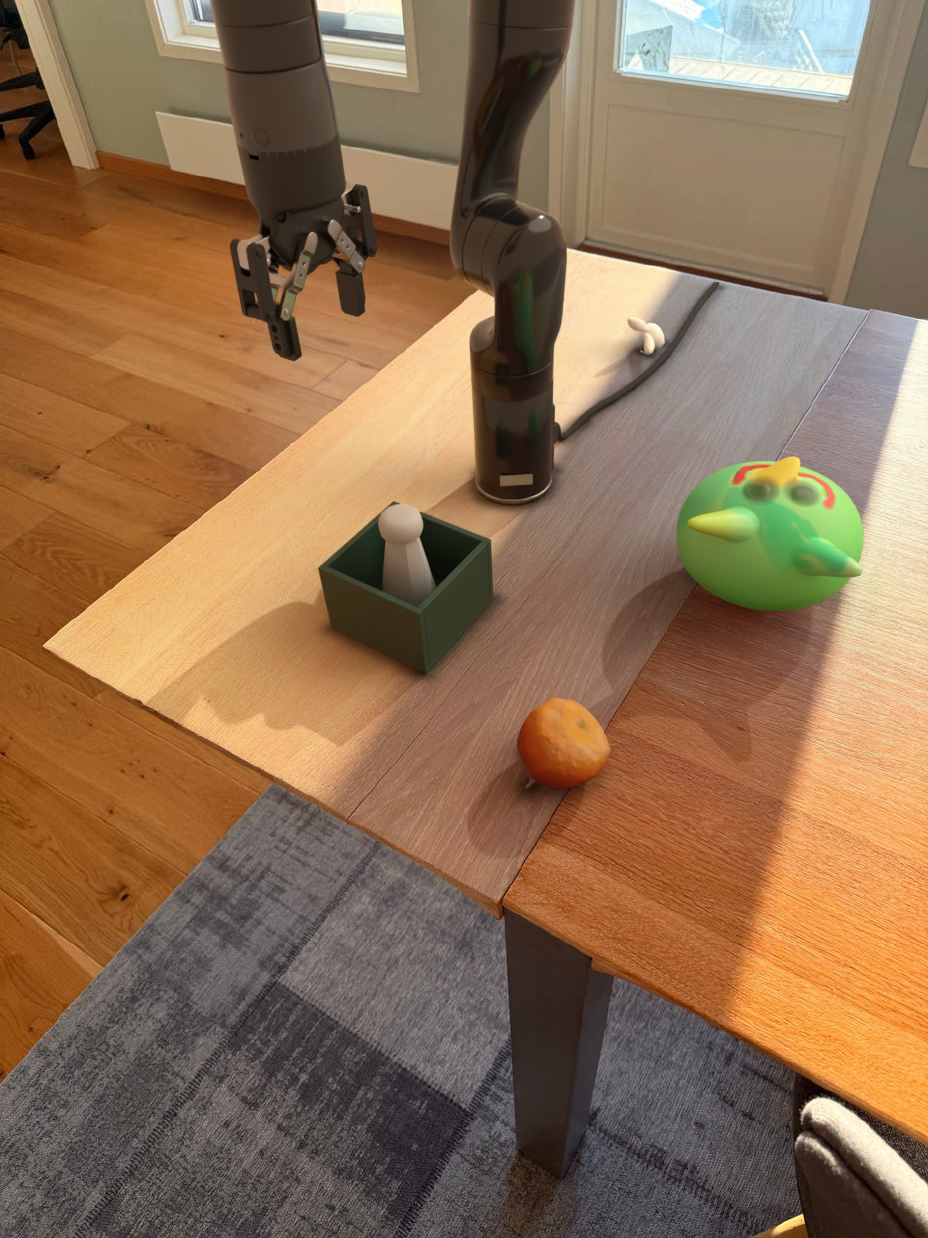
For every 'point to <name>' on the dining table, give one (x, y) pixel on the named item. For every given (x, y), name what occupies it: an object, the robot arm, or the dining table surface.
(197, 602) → the dining table surface
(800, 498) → the toy bird
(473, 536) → the bin
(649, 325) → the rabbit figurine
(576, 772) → the fruit
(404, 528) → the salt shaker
